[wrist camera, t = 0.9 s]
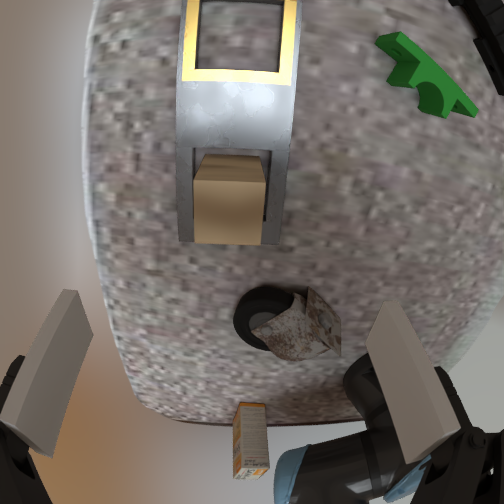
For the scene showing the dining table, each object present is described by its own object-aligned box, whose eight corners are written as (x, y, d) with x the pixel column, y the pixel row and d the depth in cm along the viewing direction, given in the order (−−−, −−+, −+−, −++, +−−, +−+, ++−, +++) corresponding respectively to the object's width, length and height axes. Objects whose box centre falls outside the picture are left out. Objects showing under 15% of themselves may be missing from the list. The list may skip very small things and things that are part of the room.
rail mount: (520, 78, 21) (547, 84, 17) (498, 98, 23) (526, 106, 19) (433, -66, 13) (456, -77, 8) (401, -55, 15) (424, -69, 10)
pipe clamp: (361, 63, 23) (381, 61, 19) (378, 36, 21) (400, 30, 17) (439, 128, 26) (464, 138, 22) (453, 103, 24) (479, 109, 20)
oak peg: (255, 205, 30) (260, 245, 23) (204, 203, 30) (194, 243, 23) (259, 156, 28) (265, 182, 21) (205, 154, 27) (193, 180, 20)
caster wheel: (229, 297, 39) (287, 256, 35) (286, 348, 42) (344, 317, 37) (213, 332, 34) (278, 290, 29) (278, 384, 36) (345, 355, 31)
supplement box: (238, 401, 49) (240, 468, 38) (265, 403, 49) (270, 468, 38) (231, 420, 53) (232, 480, 42) (255, 422, 54) (258, 480, 42)
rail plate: (276, 237, 32) (278, 245, 31) (181, 233, 31) (178, 242, 30) (300, -15, 19) (304, -21, 17) (187, -20, 18) (184, -26, 16)
